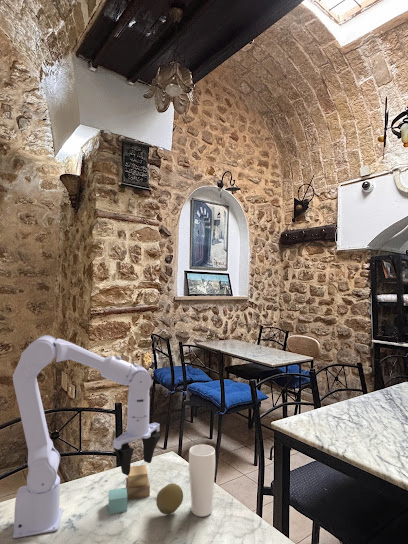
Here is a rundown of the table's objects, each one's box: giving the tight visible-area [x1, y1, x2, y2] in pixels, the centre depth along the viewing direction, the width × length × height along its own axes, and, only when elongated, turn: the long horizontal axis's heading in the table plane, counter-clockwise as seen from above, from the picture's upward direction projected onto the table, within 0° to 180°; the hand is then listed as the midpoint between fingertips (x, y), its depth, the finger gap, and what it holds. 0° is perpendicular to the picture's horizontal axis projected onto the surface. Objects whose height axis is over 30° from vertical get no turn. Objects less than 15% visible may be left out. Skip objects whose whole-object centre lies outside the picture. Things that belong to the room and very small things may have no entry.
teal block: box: [108, 487, 128, 515], centre depth 86 cm, size 4×4×4 cm
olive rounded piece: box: [155, 483, 184, 515], centre depth 81 cm, size 6×6×11 cm
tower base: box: [125, 474, 151, 501], centre depth 93 cm, size 6×6×3 cm
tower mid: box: [127, 464, 148, 487], centre depth 93 cm, size 5×5×3 cm
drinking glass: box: [188, 443, 216, 518], centre depth 85 cm, size 7×7×15 cm
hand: (137, 467), depth 87 cm, fingers open, 7 cm apart
